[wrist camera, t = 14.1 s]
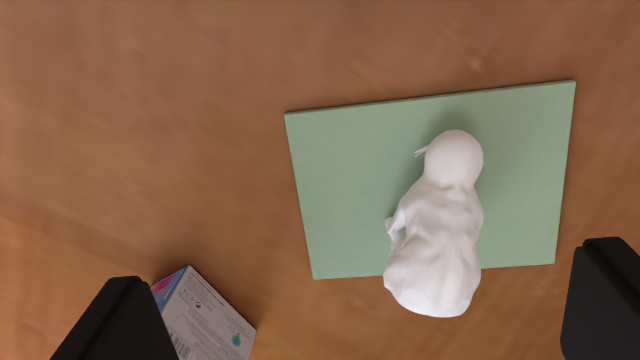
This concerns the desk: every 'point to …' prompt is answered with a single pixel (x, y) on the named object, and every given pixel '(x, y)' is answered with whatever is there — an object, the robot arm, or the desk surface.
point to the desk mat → (403, 171)
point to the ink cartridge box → (201, 319)
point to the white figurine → (438, 230)
